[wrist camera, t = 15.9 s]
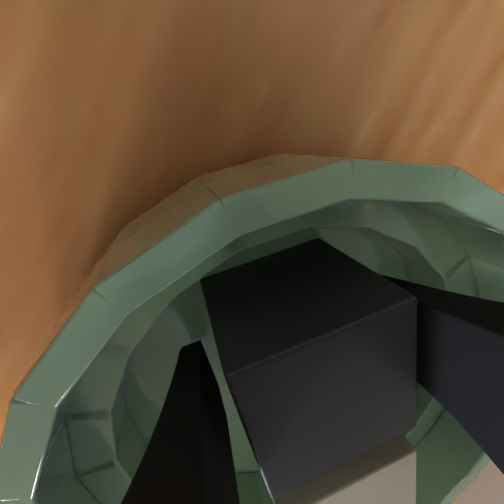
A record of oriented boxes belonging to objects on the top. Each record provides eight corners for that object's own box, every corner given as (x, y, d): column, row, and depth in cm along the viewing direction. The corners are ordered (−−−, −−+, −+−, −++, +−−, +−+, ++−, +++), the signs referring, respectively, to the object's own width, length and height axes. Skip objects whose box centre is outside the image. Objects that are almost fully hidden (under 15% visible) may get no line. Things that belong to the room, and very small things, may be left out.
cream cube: (345, 417, 14) (416, 524, 10) (263, 455, 14) (304, 588, 10) (335, 351, 12) (417, 450, 8) (240, 392, 12) (279, 522, 8)
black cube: (333, 332, 12) (417, 427, 8) (233, 373, 11) (271, 500, 7) (318, 236, 10) (419, 296, 6) (198, 278, 9) (223, 377, 5)
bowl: (432, 402, 17) (514, 482, 13) (164, 534, 14) (163, 686, 10) (445, 103, 10) (622, 76, 6) (-53, 243, 8) (-294, 352, 4)
